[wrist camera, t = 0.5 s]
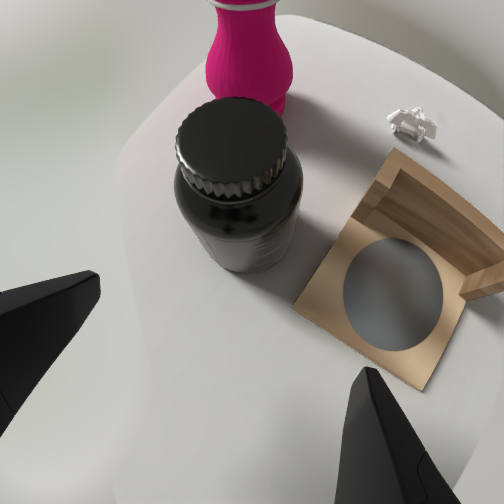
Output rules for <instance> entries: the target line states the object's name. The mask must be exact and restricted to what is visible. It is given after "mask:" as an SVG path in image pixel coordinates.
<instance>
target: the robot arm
mask: <svg viewBox="0 0 504 504" xmlns="http://www.w3.org/2000/svg"><path fill="white" fill-rule="evenodd" d="M100 292H101V290H100V277H99V275H98V274H97V273H95V272H93V271H90V270H87V271H83V272H79V273H74V274H70V275H66V276H62V277H58V278H54V279H50V280H46V281H42V282H38V283H34V284H30V285H26V286H22V287H18V288H14V289H10V290H7V291H3V292H0V437H1V436H2V434H3V433H4V431H5V430H6V428H7V427H8V425H9V424H10V422H11V421H12V419H13V418H14V415H16V413H17V412H18V410H19V409H20V407H21V406H22V405H23V403H24V402H25V400H26V399H27V397H28V396H29V395H30V393H31V392H32V391H33V389H34V388H35V387H36V385H37V384H38V382H39V381H40V380H41V378H42V377H43V376H44V374H45V373H46V372H47V370H48V369H49V368H50V366H51V365H52V364H53V362H54V361H55V360H56V359H57V357H58V356H59V354H61V352H62V351H63V350H64V348H65V347H66V346H67V345H68V343H69V342H70V341H71V340H72V338H73V337H74V336H75V334H76V333H77V332H78V331H79V329H80V328H81V326H82V325H83V323H84V321H85V320H86V319H87V317H88V315H89V314H90V312H91V311H92V309H93V308H94V306H95V305H96V303H97V302H98V300H99V298H100V294H101V293H100ZM334 504H461V503H460V501H459V500H458V498H457V497H456V496H455V494H454V493H453V491H452V490H451V488H450V487H449V486H448V484H447V483H446V481H445V480H444V478H443V477H442V475H441V474H440V472H439V471H438V469H437V468H436V466H435V464H434V463H433V461H432V459H431V458H430V456H429V454H428V453H427V451H425V448H424V446H423V444H422V442H421V441H420V439H419V437H418V436H417V434H416V432H415V431H414V429H413V427H412V425H411V424H410V422H409V420H408V419H407V417H406V416H405V414H404V412H403V411H402V409H401V407H400V406H399V404H398V402H397V401H396V399H395V397H394V396H393V394H392V393H391V391H390V389H389V388H388V386H387V385H386V383H385V381H384V380H383V378H382V377H381V375H380V373H379V372H378V370H377V369H375V368H371V367H364V368H363V369H362V370H361V372H360V373H359V375H358V376H357V378H356V379H355V381H354V382H353V384H352V386H351V390H350V396H349V401H348V407H347V412H346V417H345V422H344V427H343V435H342V445H341V455H340V465H339V473H338V481H337V489H336V496H335V503H334Z"/></svg>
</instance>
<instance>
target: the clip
mask: <svg viewBox="0 0 504 504" xmlns="http://www.w3.org/2000/svg"><path fill="white" fill-rule="evenodd" d="M422 113H423V109H421V108H419V107H416V108H415V109H413V110H412V111H407V110H403V109H399V110H397V111H396V112H394V113H392V114H390V115H389V116H388V117H387V119H388V121H389V122H390V123H392V129H393V130H392V132H393V133H394V132H395V131H396V129H397V131H398V132H399V131H401V132H404V133H407V134H409V135H411V136H412V137H414V136H415V135H416V133H418V139H417V140H418V142H421V140H422V139H423V138H424V136H427V137H429V138H431V139H434V138H435V136H436V127H437V124H436V123H435V122H433V121H431V120H430V119H428V118H426V117H425V116H424V115H423V114H422ZM419 125H420V126H422V127H424V128H425V129H426V131H425V134H424V130H423V129H419V128H418V126H419ZM397 126H398V127H397Z"/></svg>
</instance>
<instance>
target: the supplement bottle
mask: <svg viewBox="0 0 504 504" xmlns="http://www.w3.org/2000/svg"><path fill="white" fill-rule="evenodd" d="M287 141H288V138H287V135H286V127H285V126H284V125H283V120H282V119H281V118H280V117H279V116H278V113H277V112H275V111H273V109H272V108H271V107H270V106H267V105H265V104H264V103H263V102H260V101H257V100H255V99H253V98H247V97H237V96H232V97H223V98H221V99H214V100H212V101H211V102H207V103H205V104H203V105H202V106H200V107H198V108H196V109H195V111H194V112H192V113H190V114H189V115H188V117H187V118H186V119H185V120H184V121H183V123H182V126H181V127H180V128H179V129H178V134H177V136H176V144H175V149H176V151H177V152H176V157H177V159H178V161H179V164H178V166H177V169H176V173H175V179H174V192H175V197H176V201H177V204H178V206H179V208H180V211H181V213H182V214H183V216H184V218H185V219H186V221H187V222H188V224H189V225H190V227H191V228H192V230H193V231H194V233H195V234H196V236H197V238H198V239H199V241H200V242H201V244H202V245H203V247H204V248H205V250H206V251H207V252H208V254H209V255H210V256H211V258H212V259H213V260H214V261H215V262H217V263H218V264H219V265H221V266H222V267H224V268H226V269H228V270H231V271H234V272H238V273H254V272H259V271H262V270H265V269H267V268H269V267H271V266H272V265H274V264H275V263H276V262H278V261H279V260H280V259H281V258H282V257H283V255H284V254H285V253H286V251H287V249H288V247H289V245H290V243H291V240H292V236H293V232H294V228H295V224H296V219H297V215H298V210H299V206H300V201H301V197H302V191H303V172H302V167H301V164H300V161H299V159H298V157H297V155H296V153H295V152H294V150H293V149H292V148H291V146H290V145H289V144H288V143H287Z"/></svg>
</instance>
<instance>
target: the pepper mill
mask: <svg viewBox="0 0 504 504" xmlns="http://www.w3.org/2000/svg"><path fill="white" fill-rule="evenodd" d="M278 1H279V0H208V2H209V3H210V4H212V5H213V6H215V8H216V11H217V14H218V29H217V34H216V37H215V39H214V42H213V44H212V47H211V49H210V52H209V54H208V57H207V62H206V82H207V85H208V87H209V89H210V91H211V92H212V93H213V94H214V95H215V97H216V99H221V98H223V97H232V96H237V97H247V98H253V99H255V100H257V101H260V102H263V103H264V104H265V105H267V106H270V107H271V108H272V109H273V111H275V112H277V113H278V116H279V117H280V116H281V114H282V113H283V111H284V106H285V93H286V92H287V90H288V89H289V87H290V85H291V83H292V79H293V67H292V61H291V58H290V55H289V52H288V50H287V48H286V46H285V45H284V43H283V41H282V40H281V38H280V36H279V34H278V32H277V29H276V25H275V13H274V12H275V6H276V3H277V2H278Z"/></svg>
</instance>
